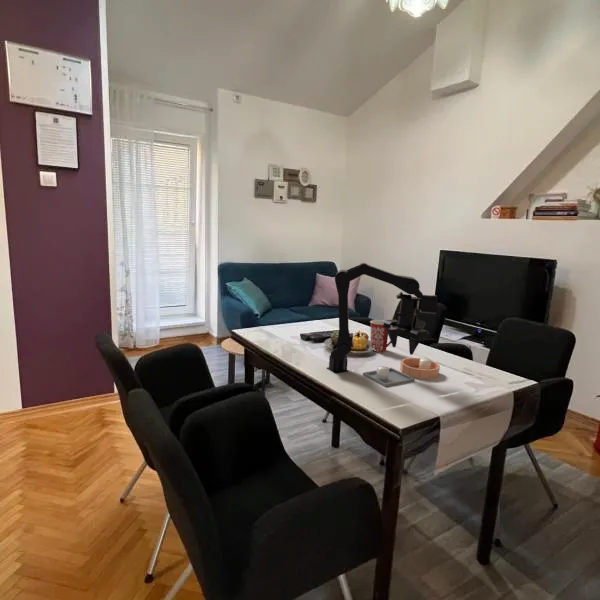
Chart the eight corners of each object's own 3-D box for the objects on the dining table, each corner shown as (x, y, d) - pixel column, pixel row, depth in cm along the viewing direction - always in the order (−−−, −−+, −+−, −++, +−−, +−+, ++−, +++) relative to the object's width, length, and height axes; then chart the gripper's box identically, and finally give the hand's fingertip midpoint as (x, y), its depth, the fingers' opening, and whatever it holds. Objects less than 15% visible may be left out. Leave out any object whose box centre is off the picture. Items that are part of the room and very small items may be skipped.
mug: (364, 349, 194) (366, 321, 192) (375, 346, 201) (377, 318, 198) (387, 356, 185) (389, 327, 183) (398, 352, 192) (400, 324, 189)
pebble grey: (381, 381, 153) (382, 370, 153) (373, 377, 157) (374, 366, 156) (390, 380, 156) (391, 368, 155) (382, 376, 159) (383, 365, 159)
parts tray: (384, 388, 149) (385, 384, 149) (362, 376, 160) (362, 372, 160) (414, 382, 156) (414, 378, 156) (391, 371, 167) (391, 367, 167)
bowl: (419, 382, 156) (420, 372, 155) (393, 369, 168) (393, 360, 168) (446, 376, 163) (447, 367, 162) (419, 365, 175) (420, 356, 175)
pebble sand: (424, 373, 164) (425, 362, 163) (416, 369, 168) (417, 359, 167) (432, 371, 166) (433, 361, 165) (424, 368, 170) (425, 357, 169)
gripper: (441, 315, 153) (436, 356, 156) (405, 305, 169) (400, 342, 171) (420, 317, 147) (414, 359, 150) (384, 306, 163) (380, 344, 166)
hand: (402, 350), depth 159 cm, fingers open, 9 cm apart
